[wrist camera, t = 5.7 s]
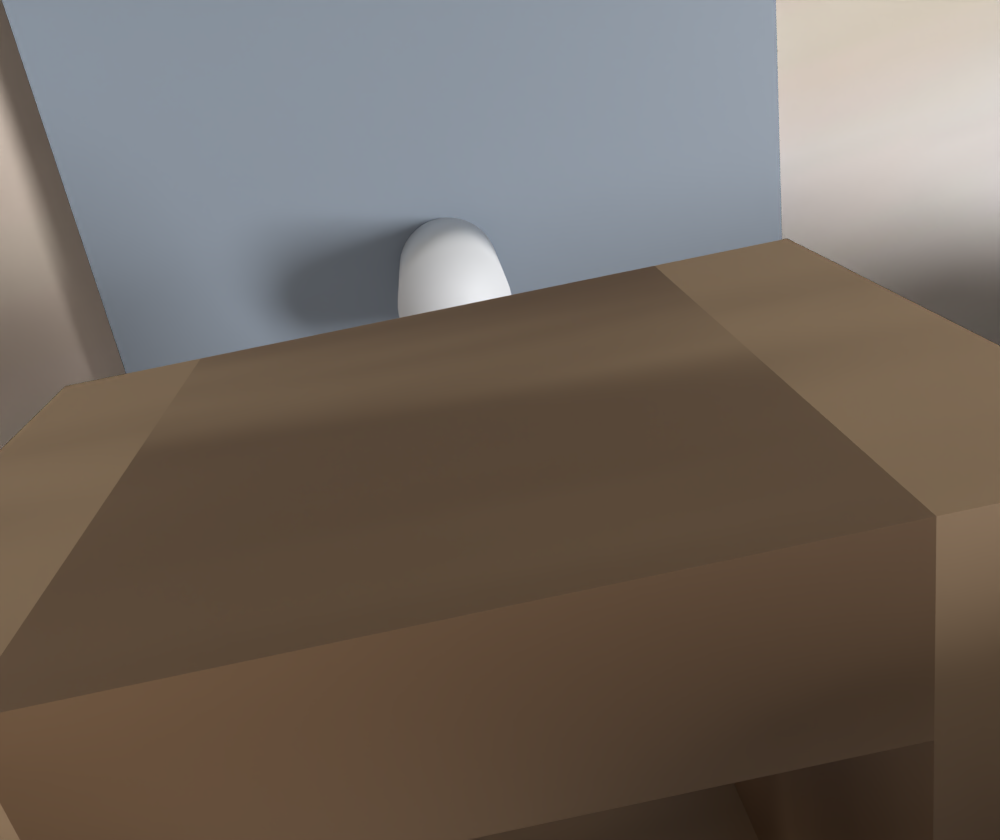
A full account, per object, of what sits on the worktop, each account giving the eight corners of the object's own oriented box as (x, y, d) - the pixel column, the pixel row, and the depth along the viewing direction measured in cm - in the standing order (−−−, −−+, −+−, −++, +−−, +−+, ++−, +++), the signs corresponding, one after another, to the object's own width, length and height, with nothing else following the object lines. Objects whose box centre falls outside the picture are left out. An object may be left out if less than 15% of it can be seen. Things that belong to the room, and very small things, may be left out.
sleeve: (818, 784, 11) (1096, 1285, 7) (271, 900, 11) (177, 1491, 7) (786, 239, 9) (1220, 455, 4) (65, 386, 9) (-339, 783, 4)
